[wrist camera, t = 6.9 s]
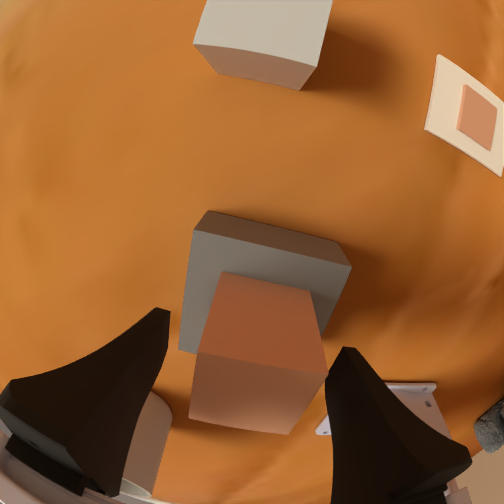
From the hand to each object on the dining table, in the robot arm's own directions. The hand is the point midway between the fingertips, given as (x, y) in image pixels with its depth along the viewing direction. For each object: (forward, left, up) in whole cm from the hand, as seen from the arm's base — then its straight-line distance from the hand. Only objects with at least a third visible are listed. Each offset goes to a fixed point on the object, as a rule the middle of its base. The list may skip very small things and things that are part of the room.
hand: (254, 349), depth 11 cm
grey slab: (0, 0, -5) cm, 5 cm away
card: (-10, -14, -5) cm, 18 cm away
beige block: (+2, -12, -6) cm, 14 cm away
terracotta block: (0, 0, -2) cm, 2 cm away
